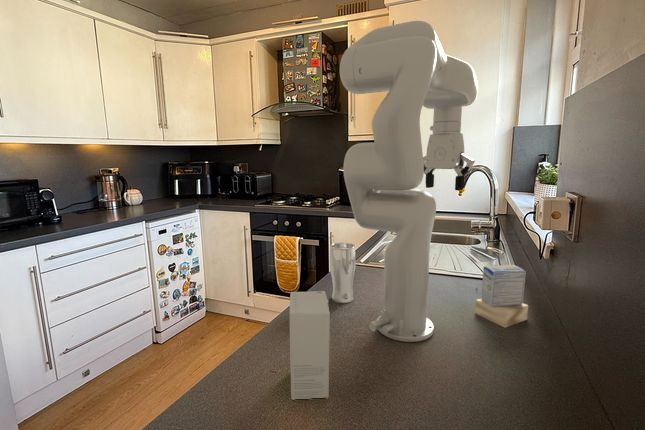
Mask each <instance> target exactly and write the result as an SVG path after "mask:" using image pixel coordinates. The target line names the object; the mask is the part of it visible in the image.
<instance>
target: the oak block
mask: <svg viewBox="0 0 645 430" xmlns="http://www.w3.org/2000/svg"><path fill="white" fill-rule="evenodd" d="M474 308H475V309H474V314H475V315H478V316H479V317H481V318H484V319H486V320H488V321H490V322H492V323H495V324H496V325H498V326H500V327H503V328H505V329H506V328H508V327H511V326H513V325H516V324H519V323H521V322H525V321H527V320H528V315H529V314H528V313H529V305H528V304H527V303H523V304H522V305H511V306H497V307H490V306H489V305H488V304H486V303H485V302H484V301H483V300H482V299H481V298H478V299H475V307H474Z"/></svg>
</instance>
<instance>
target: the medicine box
mask: <svg viewBox="0 0 645 430" xmlns="http://www.w3.org/2000/svg"><path fill="white" fill-rule="evenodd" d="M526 275H527V271H526V270H525V269H523V268H521V267H520V266H517V265H515V264H504V265H503V264H501V265H500V264H499V265H485V266H483V271H482V286H481V296H480V297H481V299H482V300H483V301H484V302H485V303H486V304H488V305H489V306H490V307H497V306H511V305H522V304H523V302H524V293H525V284H526Z"/></svg>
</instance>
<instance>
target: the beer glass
mask: <svg viewBox="0 0 645 430" xmlns="http://www.w3.org/2000/svg"><path fill="white" fill-rule="evenodd" d="M329 246H330V247H329V269H330V276H331V281H332V294H331V300H332V302H334V303H338V304H349V303H351V302H353V301H354V299H355V297H354V290H353V283H354V277H355V271H356V262H357V261H356V246H355V244H354V243H351V242H345V241H344V242H335V243H332V244H330V245H329Z"/></svg>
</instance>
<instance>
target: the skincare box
mask: <svg viewBox="0 0 645 430" xmlns="http://www.w3.org/2000/svg"><path fill="white" fill-rule="evenodd" d="M289 294H290V296H289V349H290V350H289V360H290V361H289V364H290V400H291V399H309V398H323V397H327V398H326V399H329V398H330V397H329V396H330V392H329V389H330V380H329V379H330V378H329V377H330V375H329V374H330V335H331V334H330V329H331V328H330V326H331V324H330V321H331V318H330V317H331V313H330V308H329V299H328V298H327V293H326V291H325V290H315V291H314V290H313V291H311V290H310V291H291V292H290V293H289ZM328 397H329V398H328ZM309 400H310V399H309Z"/></svg>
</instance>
